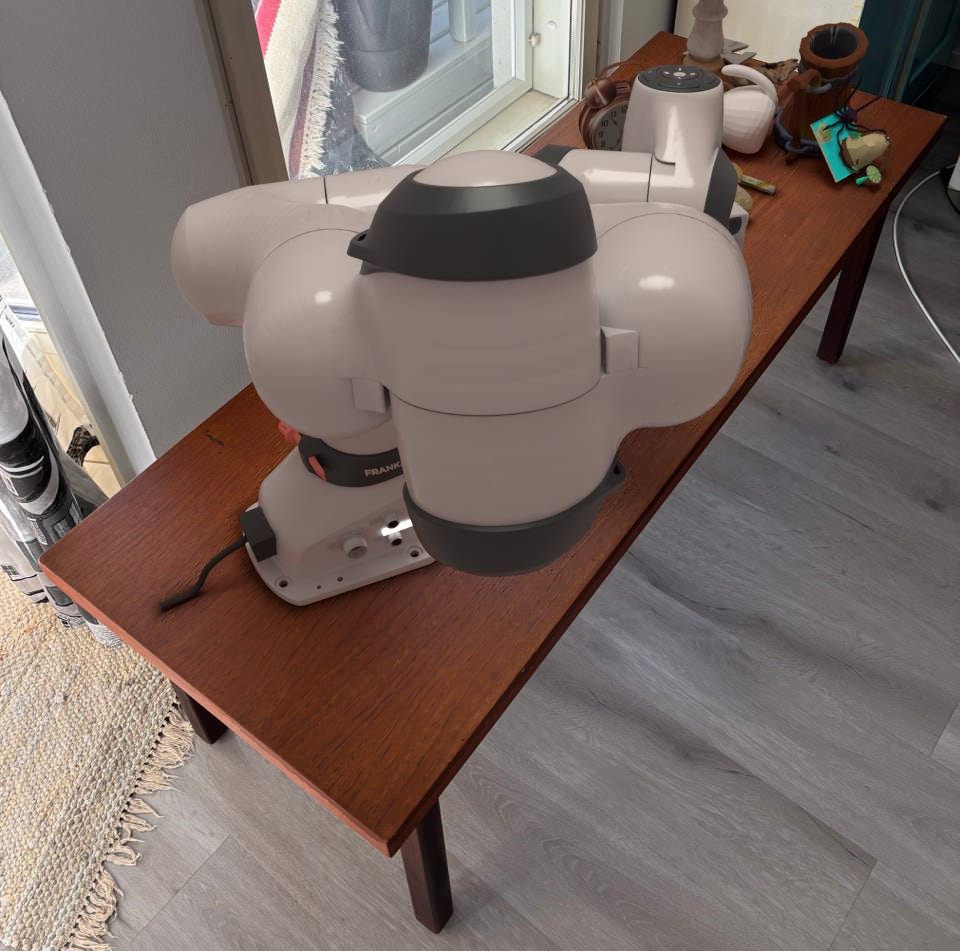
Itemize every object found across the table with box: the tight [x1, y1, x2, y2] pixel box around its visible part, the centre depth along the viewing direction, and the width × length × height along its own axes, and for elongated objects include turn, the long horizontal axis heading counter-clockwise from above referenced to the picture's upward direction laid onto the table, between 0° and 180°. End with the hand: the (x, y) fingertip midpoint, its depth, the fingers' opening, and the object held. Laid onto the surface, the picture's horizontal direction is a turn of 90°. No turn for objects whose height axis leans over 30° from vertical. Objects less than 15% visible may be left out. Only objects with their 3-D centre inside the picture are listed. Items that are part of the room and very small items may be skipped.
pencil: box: [739, 173, 777, 195], centre depth 137 cm, size 1×1×18 cm
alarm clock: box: [578, 60, 648, 151], centre depth 135 cm, size 11×5×15 cm, turn 104°
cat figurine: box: [720, 64, 779, 155], centre depth 139 cm, size 9×12×15 cm
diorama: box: [810, 73, 892, 186], centre depth 133 cm, size 11×15×6 cm
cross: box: [682, 37, 758, 65], centre depth 157 cm, size 10×3×10 cm
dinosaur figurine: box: [722, 58, 799, 115], centre depth 147 cm, size 14×6×9 cm
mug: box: [772, 21, 870, 163], centre depth 135 cm, size 18×12×15 cm, turn 143°
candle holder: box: [682, 0, 734, 94], centre depth 142 cm, size 12×12×20 cm
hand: (648, 335), depth 105 cm, fingers closed on fruit, 7 cm apart
